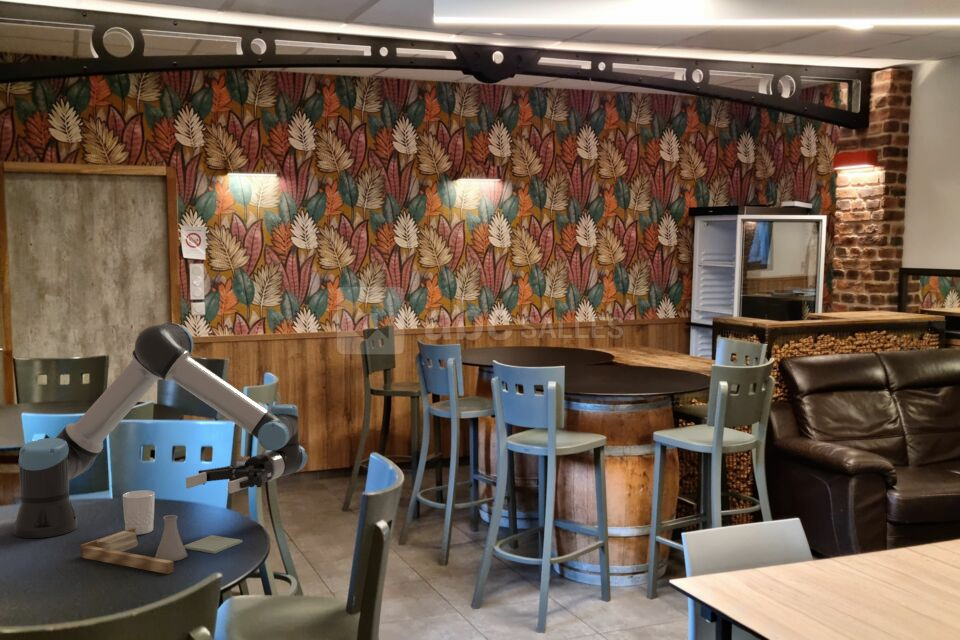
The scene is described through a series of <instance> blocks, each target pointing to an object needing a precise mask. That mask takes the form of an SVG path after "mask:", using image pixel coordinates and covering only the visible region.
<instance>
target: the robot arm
mask: <svg viewBox="0 0 960 640" xmlns="http://www.w3.org/2000/svg"><path fill="white" fill-rule="evenodd" d="M193 349H194V339H193V337H192V334H191V332H190V331H189V330H188V328H186V327H185V326H183V325H181V324H178V323H175V322H165V323H162V324H157V325H152V326H148V327H146V328H145V329H143V330H142V331H141V332H140V333H139V334H138V336H137V338H136V339H135V343H134V349H133V351H132V352H131V356H132V358H131V359H132V360H131V362H129V364H128V365H126V367H125V368H124V369H123V370H122V371H121V373H120V374H119V375H118V376H117V377H116V378H115V379H114V380H113V382H111V384H109V386H108V387H107V388H106V389H105V391H103V393H102V394H101V395H100V396H99V397H98V398H97V399H96V401H94V402H93V404H92V405H91V406H90V407H89V408H88V410H86V412H85V413H84V414H83V415H82V416H81V417H80V418H79V419H78V420H77V422H75V423H74V422H73V423H67V425H66V426H65V427H64V428H63V429H62V430H61V431H60V432H59V434H57V436H56V437H47V438H39V439H37V440H32V441H30V442H27V443H25V444H24V445H22V446H21V447H20V450H19V453H18V454H19V455H18V456H19V458H18V467H19V470H18V471H19V488H20V489H19V490H20V491H19V492H20V494H19V495H20V505H19V508H18V511H17V515H16V519H15V522H14V525H13V535H14V536H15V537H19V538H24V539H42V538H50V537H56V536H61V535H65V534H68V533H72V532H73V531H74V530H77V528H78V518H77V515H76V512H75V510H74V507H73V505H72V502H71V499H70V481H71V480H72V479H74V478H77V477H80V476H82V475H83V474H85V473H86V472H87V471H88V470H89V469H90V468H91V467H92V466H93V464H94V463H95V461H96V457H98V456H99V454H100V453H101V452H102V450H103V442H104V440H105V439H106V438H107V437H108V436H109V435H110V434H111V432H112V431H113V430H115V428H116V427H117V426H118V425H119V424H120V422H122V420H123V419H124V418H125V417H126V415H128V414H129V412H130V411H131V410H132V409H133V408H134V407H135V406H136V405H137V404H138V402H140V400H141V399H142V398H143V397H144V396H145V394H146V393H148V391H149V390H150V389H151V388H152V387H153V386H154V384H155V383H156V382H157V381H159V380H161V381H162V380H163V381H166V382H169V381H172V382H174V383H175V384H177V385H178V386H180V387H181V388H183V389H184V390H185V391H187V392H189V393H190V394H192V396H195V397H196V398H197V399H199V400H200V401H202V402H203V403H205V404H206V405H208V406H209V407H211V408H212V409H214V410H215V411H217V412H218V413H219V414H221V415H222V416H224V417H225V418H227V419H228V420H230V421H231V422H232V423H235V425H237V426H239V427H240V428H242V429H243V430H244V431H246V432H247V433H249V434H250V435H252V436H253V437H254V438H256V439H257V440H258V443H259V444H260V446H261V447H262V448H263V449H265V450H266V451H267V452H263V453H261V454H257V455H254V456H253V455H252V456H251V457H249V458H247V459H246V461H245V462H244V464H240V465H238V466H236V465H235V466H234V465H233V464H230V465H227V466H221V467H215V468H208V469H200V470H198V471H197V472H198V473H197V474H193V475H190V476H187V477H185V488H186V489H190V488H195V487H198V486H202V485H206V484H207V482H216V481H222V480H223V481H224V480H225V481H226V480H229V481H227V491H228V492H227V493H228V494H234V493H236V492H239V491H242V490H245V489H249V488H254V487H255V486H256V488H262V487H263V486H264V485H265V484H266V483H267V482H269V483H271V482H273V480H274V479H278V478H281V477H284V476H288V475H291V474H295V473H296V472H299V471H301V470H302V469H303V468H304V467H306V464H307V462H308V453H306V449H305V448H304V447H303V446H302V445H300V438H299V437H300V436H299V434H300V433H299V418H300V415H299V408H298V406H297V405H295V404H290V403H289V404H285V403H283V404H277V405H276V404H275V405H273V406H272V407H271V408H270V411H269V410H268V409H266V408H265V407H263V406H262V405H260V404H259V403H258V402H256V401H255V400H253V399H252V398H250V397H249V396H247V395H246V394H244V393H243V392H241V391H240V390H239V389H237V388H236V387H235V386H233V385H232V384H230V383H229V382H227V381H226V380H224V379H223V378H222V377H220V376H218V375H217V374H216V373H214V372H212V371H211V370H210V369H208V368H207V367H206V366H204V365H203V364H202V363H200V362H198V361H197V360H196V359H194V358H192V357H191V355H192V353H193ZM233 476H234V477H233Z"/></svg>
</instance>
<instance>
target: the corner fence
mask: <svg viewBox="0 0 960 640" xmlns="http://www.w3.org/2000/svg"><path fill="white" fill-rule="evenodd" d="M123 531H126V532H134V533H136V530H135V528H130V529H127V530H126V529H124V530H121V531H119V532H116V533H112V534H109V535H106V536H103V537H100V538H97V539H94V540H91V541H88V542H85V543H82V544H80V546H79V547H80V549H79V550H80V551H79V552H80V558H83V559H86V560H87V559H88V560H93V561H99V562H103V563H108V564H109V563H110V564H114V565H119V566H125V567H130V568H135V569H140V570H146V571H151V572H155V573H160V574H165V575H170V574H172V573H174V561H170V560H164V559H159V558H155V557H152V556H149V555H148V556H147V555H141V554H136V553H131V552H125V551H122V552H121V551H115V550H110V549H104V548H99V547H97V541H99V540H101V539H104V538H107V537H109V536H112V535H115V534H117V533H120V532H123Z"/></svg>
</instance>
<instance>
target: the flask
mask: <svg viewBox="0 0 960 640" xmlns="http://www.w3.org/2000/svg"><path fill="white" fill-rule="evenodd" d="M178 518H179V517H178V516H177V515H174V514H171V515H170V514H169V515H165V516H162V520H163V523H164V525H163V532H162V535H161V538H160V542H159V543H158V544H159V545H158V547H157V549H156V552H155V556H154V558H159V559H164V560H170V561H173V562H176V561H177V562H178V561H180V560H183V559H185V558H187V557H188V553H187V549H185V548H184V543H183V541H182V539H181V536H180V534H179V529H178V524H177V522H178V521H177V520H178Z"/></svg>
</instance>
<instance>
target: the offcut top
mask: <svg viewBox="0 0 960 640" xmlns="http://www.w3.org/2000/svg"><path fill="white" fill-rule="evenodd" d="M122 531H123V532H121V531H119V532H120V533H118V532H116V533H117V534H115V533H114V534H115V535H112V534H111V535H112V536H109V535H108V536H109V537H107V538H104V539H101V540H99V541H97V547H99V548H104V549H110V550H114V549H117V548H119V547H122V546H124V545H127V544H130V543H132V542H135V541H138V540H137V535H136V533H134V532H126V531H124V530H122Z"/></svg>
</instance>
